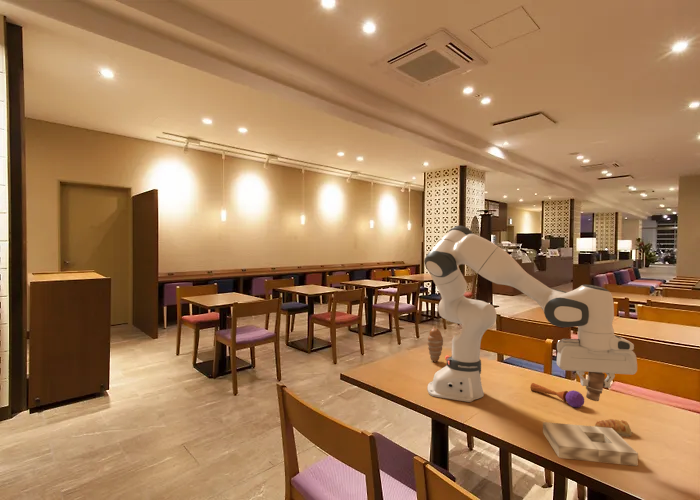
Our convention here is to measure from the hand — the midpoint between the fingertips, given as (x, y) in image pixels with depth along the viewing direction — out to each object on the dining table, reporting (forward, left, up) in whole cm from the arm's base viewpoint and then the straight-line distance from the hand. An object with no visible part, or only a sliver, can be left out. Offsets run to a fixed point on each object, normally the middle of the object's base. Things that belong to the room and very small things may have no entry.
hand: (595, 386), depth 107 cm
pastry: (+12, +13, -20) cm, 26 cm away
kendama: (+2, +36, -20) cm, 41 cm away
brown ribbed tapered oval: (-44, +73, -19) cm, 87 cm away
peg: (-1, 0, -4) cm, 4 cm away
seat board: (-2, +1, -19) cm, 19 cm away
